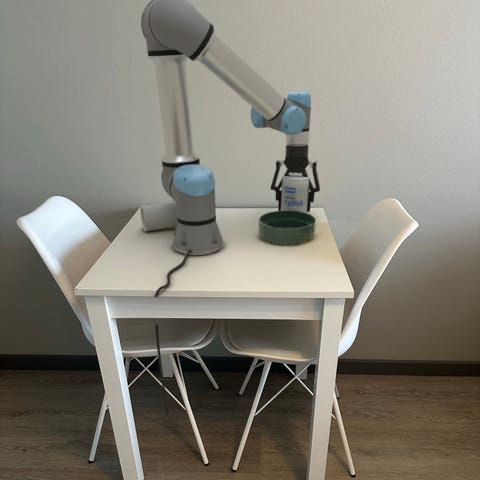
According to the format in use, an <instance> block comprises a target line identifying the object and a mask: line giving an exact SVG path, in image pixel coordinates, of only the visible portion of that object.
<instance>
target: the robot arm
mask: <svg viewBox="0 0 480 480" xmlns="http://www.w3.org/2000/svg"><path fill="white" fill-rule="evenodd" d="M140 27H141V32H142V35H143V37H144V39H145V43H146V50H147V51H146V52H147V57H148V59H149V60H150V61H151V62H152V63H153V64H154V69H155V78H156V86H157V94H158V102H159V111H160V118H161V119H160V120H161V126H162V127H161V128H162V133H163V134H162V135H163V141H164V150H165V153H164V154H163V156H162V157H161V165H162V171H161V175H160V177H161V184H162V187H163V189H164V192H166V194H167V195H168V196H169V197H170V198H171V199H172V200H173V199H174V201H175V202H176V211H177V222H178V223H177V228H176V229H175V231H174V234H173V236H174V237H173V250H174V251H175V252H177V253H179V254H181V255H185V256H184V257H183V259H182V261H181V262H180V264H178V265H177V266H174V267H173V268H172V269H170V270H169V271H168V273H167V274H166V280H167V282H166V283H165V284H164V285H161V286H159V287H158V288H157V290H156V291H155V294H154V298H158V297H159V293H160V291H162V290H163V289H166V288H167V287H169V286H170V284H171V274H173V273H174V272H175V271H176V270H179V269H180V268H181V267H183V266H184V264H185V263H186V261H187V259H188V257H189V256H193V257H194V256H207V255H211V254H215V253H217V252H219V251H220V250H222V249H223V247H224V240H223V236H222V234H221V230H220V228H219V224H218V222H217V211H216V209H217V208H216V180H215V175H214V172H213V170H212V169H211V168H209V167H208V166H206V165H201V161H200V155H199V154H198V153H197V152H196V151H195V150H194V140H193V139H194V138H193V128H192V120H191V119H192V118H191V106H190V97H189V95H190V94H189V85H188V75H187V65H186V64H187V61H188V59H189V60H191V61H192V62H199V63H200V64H202V65H203V66H204V67H205V68H206V69H207V70H209V71H210V72H211V73H212V74H213V75H214V76H215V77H217V78H218V79H219V80H220V81H221V82H222V83H224V84H225V85H226V86H227V87H229V88H230V89H231V90H232V91H233V92H234V93H236V94H237V95H238V96H239V97H240V98H241V99H242V100H244V101H245V102H246V103H247V104H249V105H250V106H251V107H250V108H251V109H250V119H251V124H252V126H253V127H254V128H256V129H265V128H269V129H272V130H275V131H278V132H280V133H283V134H285V143H286V145H285V156H284V157H285V158H284V159H283V160H281V159H277V160H276V162H275V171H274V175H273V179H272V181H271V185H270V190H271V191H274V192H275V201H277V203H278V204H277V205H278V210H277V211H281V192H282V180H283V177H281V180H280V181H279V183H278V185H277V181H278V177H279V174H280V171H281V168H282V167H283V165H284V167H285V168H286V171H285V172H284V174H283V175H284V176H288V175H289V173H299V174H300V173H302V175H303V177H308V175H309V174H308V172H307V170H306V169H307V167H310V169H311V171H312V176H313V181H314V185H313V183H312V181H311V179H310V180H309V195H308V211H307V213H311V205H312V203H314V202H315V194H316V193H319V192H320V191H321V186H320V180H319V175H318V170H317V165H318V161H317V160H313V161H311V160H309V145H308V144H309V143H310V126H311V110H312V95H311V94H310V93H309V92H306V91H291V92H288V93H287V97H286V98H285V97H284V96H283V95H282V94H281V93H280V91H278V90H277V89H276V88H275V87H274V86H273V85H271V83H270V82H269V81H267V80H266V79H265V77H263V76H262V75H260V74H259V72H258V71H256V70H255V69H254V68H253V67H252V66H251V65H250V64H249V63H248V62H247V61H246V60H245V59H244V58H242V57H241V56H240V55H239V54H238V53H237V52H236V51H235V50H234V49H233V48H231V46H229V45H228V44H227V43H226V42H225V41H224V40H223V39H222V38H221V37H220V36H219V35H218V34H217V33H216V26H214V25H213V24H212V23H211V21H209V20H208V19H207V18H206V17H205V16H204V15H203V14H202V13H201V12H200V11H199V10H198V9H197V8H196V7H195V6H194V5H193V4H191V3H190V1H188V0H150V1H148V3H147V4H146V6H145V7H144V9H143V11H142V14H141V17H140ZM314 186H315V187H314ZM154 326H155V327H154V328H155V340H156V351H157V359H158V360H157V361H158V366H159V374H160V382H161V388H162V393H163V394H162V395H163V402H164V411H165V416H166V417H169V410H168V400H167V394H166V386H165V378H164V372H163V371H164V370H163V364H162V356H161V346H160V337H159V335H160V333H159V324H155V325H154Z"/></svg>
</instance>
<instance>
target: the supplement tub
mask: <svg viewBox="0 0 480 480" xmlns="http://www.w3.org/2000/svg"><path fill="white" fill-rule="evenodd" d="M310 177H311V176H310V175H309V174H308V177H303V175H302V173H300V174H299V173H289V175H288V176H284V174H283V175H282V178H283V180H282V187H281V190H282V192H281V210H280V211H299V212H304V213H307V214H308V212H307V211H308V195H309V191H310V189H309V180H311V179H310Z"/></svg>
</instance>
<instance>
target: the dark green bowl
mask: <svg viewBox="0 0 480 480" xmlns="http://www.w3.org/2000/svg"><path fill="white" fill-rule="evenodd" d="M316 221H317V220H316V217H314V216H313V215H312V214H310V213H308V212H307V213H304V212H299V211H281V210H280V211H278V210H275V211H274V210H273V211H269V212H266V213H263V214H261V215H260V216H259V217H258V237H259V238H260V239H261V240H263V241H264V242H267V243H270V244H275V245H288V246H290V245H300V244H305V243H308V242H310V241H311V240H313V239H314V238H315V236H316Z"/></svg>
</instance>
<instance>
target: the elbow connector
mask: <svg viewBox="0 0 480 480" xmlns="http://www.w3.org/2000/svg"><path fill="white" fill-rule="evenodd" d="M139 207H140V208H139V211H140V213H139V214H140V219H141V224H142V228H143V230H144V232H152V231H158V230H164V229H171V228H172V229H174V230H176V228H177V223H178V222H177V211H176V202H175V201H174V199H173V198H172V201H168V202H161V203H152V204H145V205H140V206H139Z"/></svg>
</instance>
